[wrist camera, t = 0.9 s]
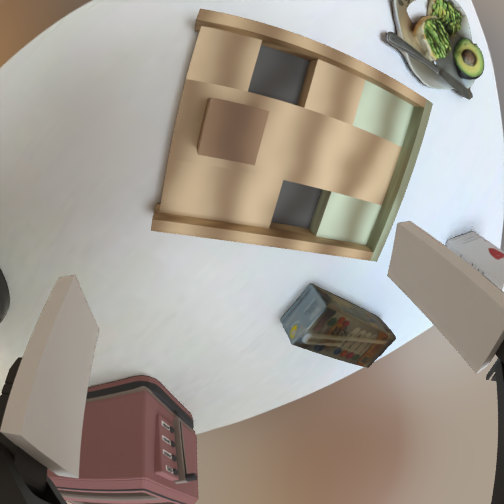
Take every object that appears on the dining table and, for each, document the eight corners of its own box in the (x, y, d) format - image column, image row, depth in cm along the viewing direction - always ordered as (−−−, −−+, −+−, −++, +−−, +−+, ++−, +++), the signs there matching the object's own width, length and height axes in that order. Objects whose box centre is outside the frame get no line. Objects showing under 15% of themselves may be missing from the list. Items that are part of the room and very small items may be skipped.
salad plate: (387, 98, 31) (411, 100, 27) (361, -26, 21) (381, -35, 17) (472, 98, 32) (493, 103, 28) (456, 0, 23) (476, -2, 19)
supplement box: (474, 229, 45) (528, 268, 32) (465, 267, 50) (511, 308, 37) (446, 238, 44) (504, 284, 31) (437, 279, 48) (486, 327, 36)
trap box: (154, 213, 32) (150, 230, 28) (198, 21, 22) (200, 8, 19) (360, 245, 40) (376, 261, 36) (409, 100, 31) (432, 103, 27)
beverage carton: (310, 278, 41) (330, 307, 36) (381, 316, 50) (400, 339, 44) (277, 318, 44) (291, 350, 38) (353, 346, 52) (368, 371, 46)
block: (196, 147, 27) (197, 154, 23) (208, 98, 25) (211, 97, 21) (245, 157, 28) (254, 165, 25) (258, 109, 26) (269, 111, 23)
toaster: (206, 417, 54) (222, 505, 36) (84, 438, 53) (81, 509, 35) (160, 367, 44) (166, 484, 26) (30, 396, 43) (14, 478, 25)
